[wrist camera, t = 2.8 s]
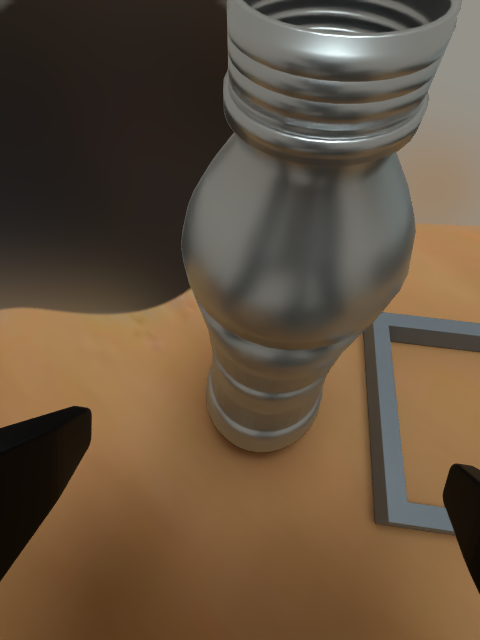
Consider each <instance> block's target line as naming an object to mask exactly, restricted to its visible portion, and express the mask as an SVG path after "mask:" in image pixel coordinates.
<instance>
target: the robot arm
mask: <svg viewBox="0 0 480 640" xmlns="http://www.w3.org/2000/svg"><path fill="white" fill-rule="evenodd" d="M91 422H92V414H91V410H90V409H89V408H86V407H79V406H72V407H69V408H65V409H62V410H59V411H55V412H52V413H49V414H46V415H42V416H39V417H36V418H32V419H29V420H26V421H22V422H19V423H16V424H12V425H9V426H6V427H2V428H0V581H1V580H2V578H3V577H4V575H5V574H6V573H7V571H8V570H9V568H10V567H11V566H12V564H13V563H14V561H15V560H16V559H17V557H18V556H19V554H20V553H21V551H22V550H23V549H24V547H25V546H26V544H27V543H28V542H29V540H30V539H31V537H32V536H33V535H34V533H35V532H36V530H37V529H38V528H39V526H40V525H41V523H42V522H43V521H44V519H45V518H46V516H47V515H48V514H49V512H50V511H51V509H52V508H53V507H54V505H55V504H56V502H57V501H58V499H59V497H60V496H61V494H62V493H63V491H64V489H65V487H66V486H67V484H68V482H69V480H70V479H71V477H72V475H73V473H74V472H75V470H76V468H77V466H78V465H79V463H80V461H81V459H82V458H83V456H84V454H85V452H86V451H87V449H88V447H89V445H90V441H91ZM443 502H444V505H445V508H446V511H447V514H448V516H449V519H450V522H451V524H452V527H453V530H454V533H455V535H456V538H457V541H458V544H459V546H460V549H461V552H462V555H463V557H464V560H465V562H466V565H467V567H468V570H469V572H470V574H471V577H472V579H473V581H474V583H475V585H476V587H477V589H478V592H479V594H480V470H479V469H477V468H475V467H473V466H470V465H464V464H453V465H452V466H451V468H450V470H449V474H448V477H447V480H446V484H445V487H444V491H443Z"/></svg>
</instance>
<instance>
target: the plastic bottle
mask: <svg viewBox="0 0 480 640" xmlns="http://www.w3.org/2000/svg"><path fill="white" fill-rule="evenodd" d="M461 2H462V0H227V26H228V71H227V73H226V75H225V77H224V87H223V88H224V89H223V92H224V113H225V116H226V119H227V122H228V124H229V125H230V127H231V128H232V129H233V131H234V134H233V135H232V136H231V138H230V139H229V140H228V141H227V142H226V144H225V145H224V146H223V147H222V149H221V150H220V151H219V152H218V154H217V155H216V156H215V158H214V159H213V161H212V162H211V163H210V165H209V167H208V168H207V170H206V171H205V173H204V175H203V176H202V178H201V180H200V181H199V183H198V185H197V186H196V188H195V190H194V192H193V194H192V197H191V199H190V202H189V205H188V209H187V213H186V218H185V222H184V227H183V234H182V243H181V248H182V254H183V261H184V265H185V269H186V272H187V276H188V280H189V283H190V286H191V288H192V290H193V293H194V295H195V298H196V300H197V303H198V305H199V308H200V310H201V313H202V315H203V318H204V320H205V323H206V325H207V328H208V331H209V336H210V341H211V346H212V350H213V358H212V366H211V368H210V372H209V376H208V381H207V387H206V403H207V409H208V412H209V415H210V417H211V420H212V422H213V423H214V425H215V426H216V428H217V429H218V431H219V432H220V433H221V434H222V435H223V436H224V437H225V438H226V439H227V440H228V441H230V442H231V443H233V444H234V445H236V446H237V447H240V448H242V449H245V450H247V451H253V452H271V451H275V450H278V449H281V448H284V447H286V446H288V445H290V444H292V443H294V442H296V441H297V440H298V439H299V438H301V437H302V436H303V435H304V434H305V433H306V432H307V431H308V429H309V428H310V427H311V426H312V424H313V422H314V420H315V418H316V416H317V413H318V409H319V406H320V402H321V398H322V388H323V384H324V381H325V378H326V375H327V373H328V372H329V370H330V369H331V367H332V366H333V365H334V363H335V362H336V361H337V359H338V358H339V356H340V355H341V353H342V352H343V351H344V350H345V349H346V348H347V347H348V346H349V345H350V344H351V343H352V342H353V341H355V340H356V339H357V338H358V337H359V336H360V335H361V334H362V333H363V332H364V331H365V330H366V329H367V328H368V326H369V325H370V324H372V323H373V322H374V321H375V320H376V319H377V317H378V316H379V315H380V314H381V313H382V312H383V310H384V309H385V308H386V307H387V306H388V304H389V303H390V302H391V300H392V299H393V298H394V297H395V295H396V294H397V293H398V292H399V291H400V289H401V287H402V285H403V283H404V281H405V279H406V276H407V274H408V270H409V265H410V259H411V254H412V249H413V244H414V238H415V233H416V228H415V219H414V212H413V207H412V202H411V197H410V192H409V187H408V183H407V181H406V178H405V175H404V173H403V170H402V167H401V164H400V161H399V159H398V156H397V153H396V152H397V151H399V150H400V149H401V148H402V147H404V146H405V145H406V144H407V143H408V142H410V141H411V139H412V137H413V136H414V134H415V133H416V131H417V129H418V127H419V125H420V122H421V120H422V118H423V116H424V113H425V111H426V109H427V105H428V100H429V95H428V90H429V87H430V85H431V83H432V80H433V78H434V76H435V73H436V71H437V69H438V66H439V64H440V62H441V59H442V57H443V55H444V53H445V50H446V47H447V45H448V43H449V41H450V39H451V36H452V34H453V32H454V29H455V27H456V22H457V15H458V13H459V11H460V9H461Z"/></svg>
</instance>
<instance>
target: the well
mask: <svg viewBox="0 0 480 640" xmlns="http://www.w3.org/2000/svg"><path fill="white" fill-rule="evenodd" d="M363 333H364V349H365V365H366V382H367V398H368V414H369V431H370V447H371V463H372V480H373V496H374V512H375V523H376V524H382V525H389V526H396V527H403V528H409V529H416V530H423V531H430V532H436V533H443V534H450V535H455V533H454V530H453V527H452V524H451V522H450V519H449V516H448V514H447V511H446V508H444V507H437V506H430V505H423V504H416V503H409V502H407V495H406V486H405V476H404V467H403V457H402V448H401V438H400V429H399V419H398V410H397V400H396V391H395V381H394V372H393V363H392V353H391V344H390V341H392V342H400V343H408V344H417V345H425V346H434V347H442V348H450V349H459V350H467V351H476V352H480V323H472V322H463V321H455V320H446V319H437V318H428V317H420V316H411V315H402V314H394V313H385V312H382V313H381V314H380V315H379V316H378V317H377V319H376V320H375V321H374V322H373V323H372V324H370V325H369V326H368V328H367V329H366V330H365V331H364V332H363Z"/></svg>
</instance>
